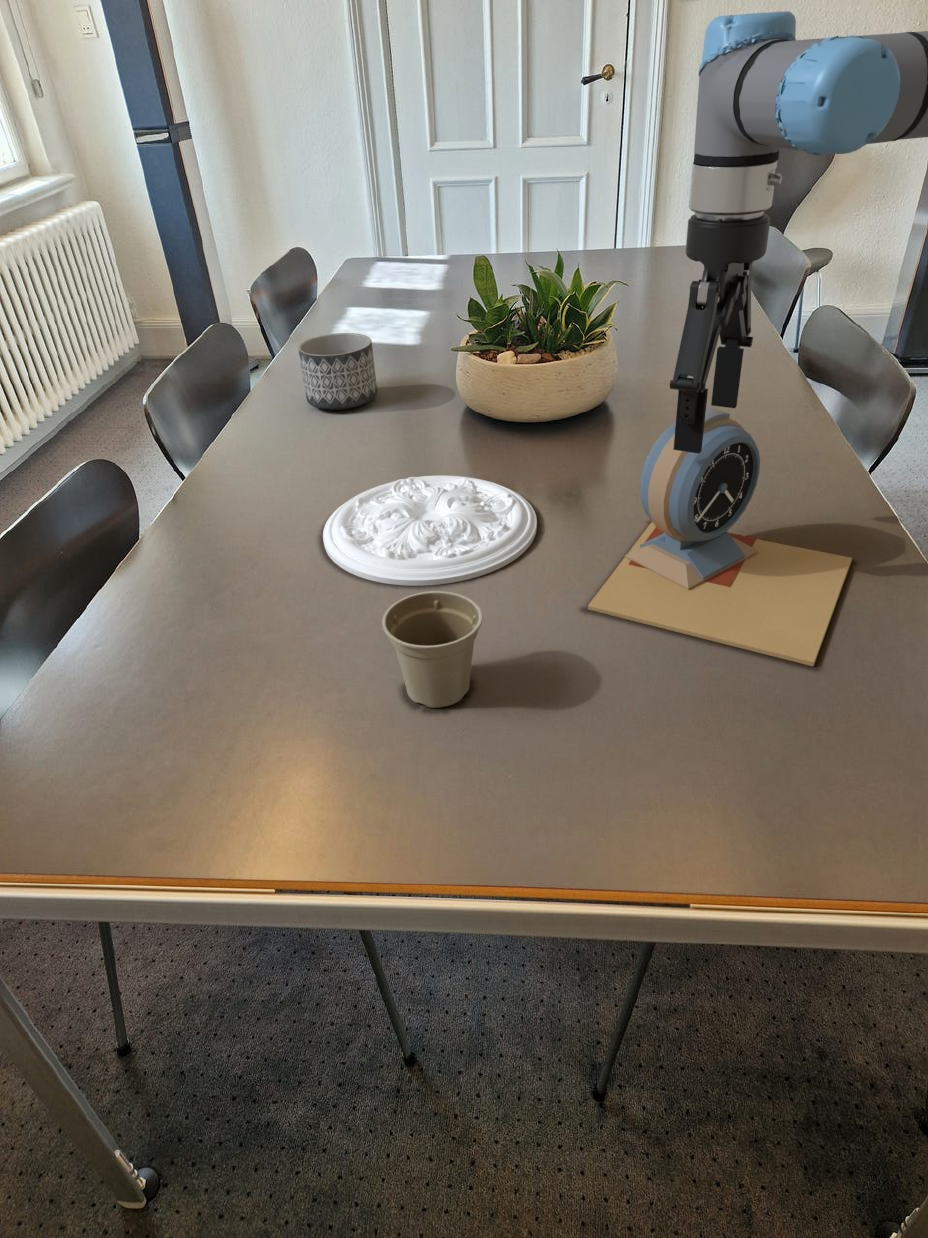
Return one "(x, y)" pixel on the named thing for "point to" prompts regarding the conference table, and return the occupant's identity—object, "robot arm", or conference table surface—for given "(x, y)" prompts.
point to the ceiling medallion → (430, 530)
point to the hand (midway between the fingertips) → (706, 427)
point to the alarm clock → (698, 501)
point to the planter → (338, 370)
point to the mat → (737, 599)
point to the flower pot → (434, 644)
